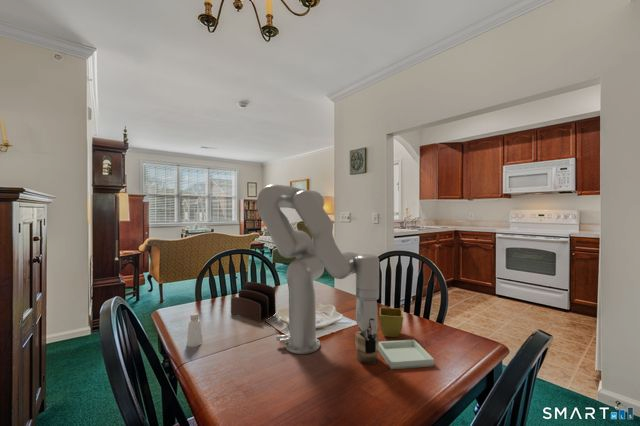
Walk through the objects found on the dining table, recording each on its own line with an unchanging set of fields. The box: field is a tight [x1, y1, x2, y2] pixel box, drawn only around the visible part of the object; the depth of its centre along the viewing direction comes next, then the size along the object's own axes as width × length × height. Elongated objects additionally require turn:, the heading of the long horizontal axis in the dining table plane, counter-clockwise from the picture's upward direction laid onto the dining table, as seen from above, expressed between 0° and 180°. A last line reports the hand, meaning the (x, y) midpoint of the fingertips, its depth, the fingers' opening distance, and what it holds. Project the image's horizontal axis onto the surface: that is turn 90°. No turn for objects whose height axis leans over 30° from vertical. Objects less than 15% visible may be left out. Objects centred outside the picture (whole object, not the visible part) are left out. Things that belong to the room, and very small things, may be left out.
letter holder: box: [230, 281, 277, 323], centre depth 138 cm, size 10×20×14 cm, turn 55°
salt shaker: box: [186, 312, 203, 348], centre depth 109 cm, size 5×5×11 cm
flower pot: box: [379, 307, 404, 338], centre depth 117 cm, size 9×9×9 cm
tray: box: [378, 339, 435, 370], centre depth 100 cm, size 14×14×2 cm
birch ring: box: [354, 330, 380, 352], centre depth 98 cm, size 7×7×4 cm
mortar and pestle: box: [356, 331, 379, 365], centre depth 98 cm, size 7×7×9 cm
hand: (366, 346), depth 98 cm, fingers closed on birch ring, 7 cm apart
